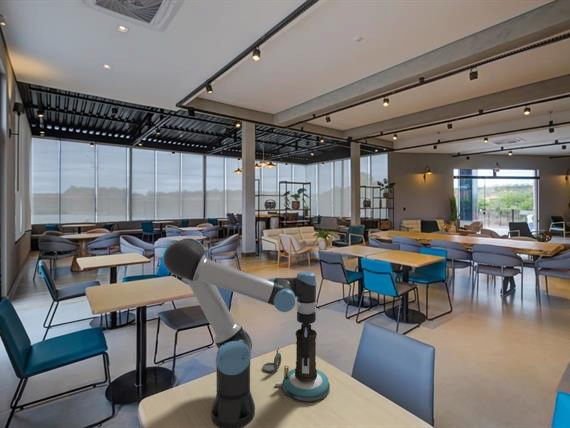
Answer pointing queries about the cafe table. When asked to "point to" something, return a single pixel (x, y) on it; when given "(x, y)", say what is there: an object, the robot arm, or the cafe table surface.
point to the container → (312, 357)
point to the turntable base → (303, 399)
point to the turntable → (305, 384)
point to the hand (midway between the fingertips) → (305, 366)
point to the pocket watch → (273, 366)
